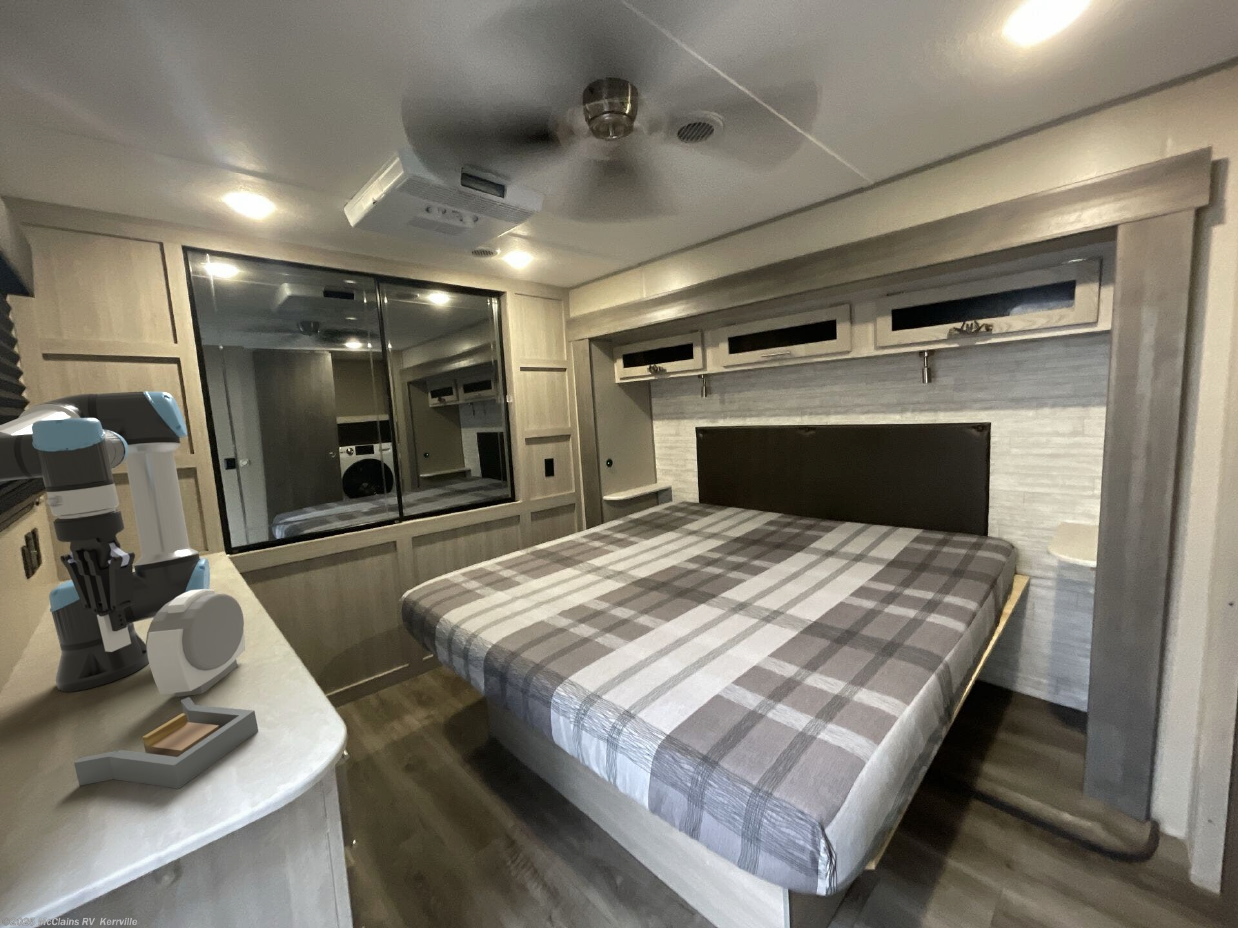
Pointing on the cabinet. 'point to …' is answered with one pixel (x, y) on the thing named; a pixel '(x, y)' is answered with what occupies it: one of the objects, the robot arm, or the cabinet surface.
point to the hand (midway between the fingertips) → (118, 647)
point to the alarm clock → (195, 641)
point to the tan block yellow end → (177, 736)
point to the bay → (168, 768)
